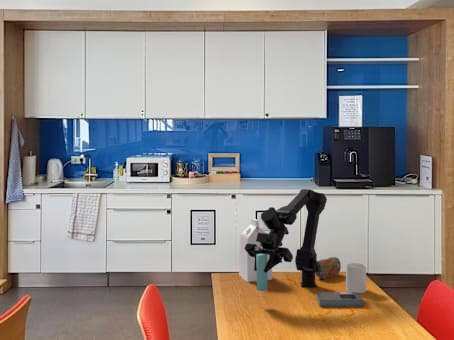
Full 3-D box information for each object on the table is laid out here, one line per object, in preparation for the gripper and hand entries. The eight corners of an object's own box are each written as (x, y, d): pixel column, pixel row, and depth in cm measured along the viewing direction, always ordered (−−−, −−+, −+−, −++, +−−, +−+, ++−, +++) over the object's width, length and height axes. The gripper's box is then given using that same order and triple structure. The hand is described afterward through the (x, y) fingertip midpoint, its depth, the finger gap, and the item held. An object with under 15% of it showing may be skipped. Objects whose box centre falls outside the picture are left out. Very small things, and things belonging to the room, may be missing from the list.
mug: (368, 293, 232) (368, 267, 231) (348, 293, 231) (348, 267, 231) (360, 285, 244) (360, 260, 243) (341, 285, 244) (341, 260, 243)
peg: (256, 288, 220) (256, 253, 219) (267, 287, 219) (266, 253, 219) (256, 290, 216) (256, 256, 215) (267, 290, 215) (267, 255, 215)
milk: (272, 279, 256) (271, 220, 254) (247, 281, 253) (246, 222, 251) (263, 273, 267) (262, 216, 266) (238, 275, 264) (238, 218, 262)
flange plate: (316, 298, 225) (316, 292, 225) (358, 298, 225) (358, 291, 224) (319, 306, 215) (319, 299, 215) (363, 306, 215) (363, 299, 214)
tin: (319, 280, 253) (319, 261, 252) (314, 279, 255) (313, 260, 254) (341, 274, 263) (341, 256, 262) (335, 273, 265) (335, 255, 264)
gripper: (246, 222, 225) (230, 255, 217) (288, 226, 213) (272, 262, 205) (258, 239, 231) (242, 272, 223) (299, 244, 220) (284, 279, 212)
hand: (259, 271), depth 216 cm, fingers closed on peg, 4 cm apart
